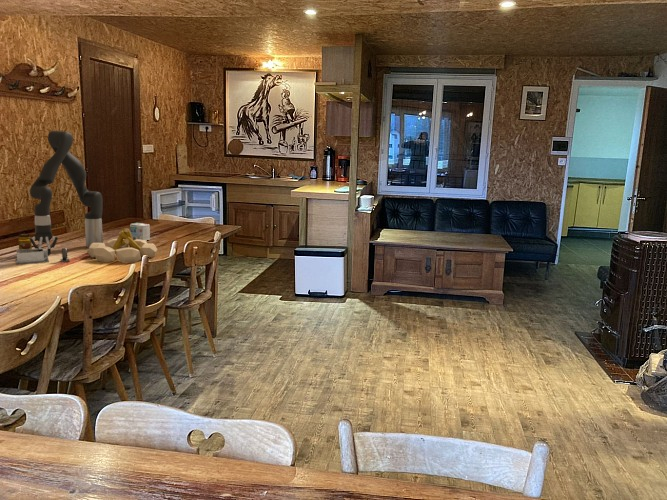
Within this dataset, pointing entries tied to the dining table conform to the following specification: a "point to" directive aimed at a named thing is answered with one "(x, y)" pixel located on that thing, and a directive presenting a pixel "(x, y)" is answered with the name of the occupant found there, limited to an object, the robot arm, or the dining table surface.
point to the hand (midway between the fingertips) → (44, 255)
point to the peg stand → (64, 255)
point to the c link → (32, 255)
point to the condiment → (24, 241)
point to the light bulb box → (140, 231)
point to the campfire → (122, 249)
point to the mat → (31, 262)
